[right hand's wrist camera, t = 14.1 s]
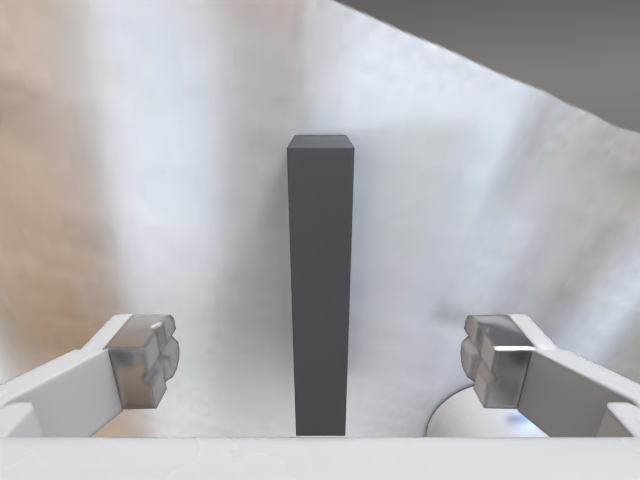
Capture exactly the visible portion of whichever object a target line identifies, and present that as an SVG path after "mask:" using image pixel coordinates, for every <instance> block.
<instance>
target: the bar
mask: <svg viewBox="0 0 640 480" xmlns="http://www.w3.org/2000/svg"><path fill="white" fill-rule="evenodd" d="M287 162H288V193H289V225H290V256H291V288H292V320H293V351H294V383H295V414H296V436H345V424H346V393H347V362H348V330H349V299H350V268H351V237H352V205H353V174H354V147H353V145H352V144H351V142H350V141H349V139H348V137H347V136H346V135H295V136H294V138H293V139H292V141H291V143H290V144H289V146H288V147H287Z"/></svg>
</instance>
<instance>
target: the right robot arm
mask: <svg viewBox="0 0 640 480" xmlns="http://www.w3.org/2000/svg"><path fill="white" fill-rule="evenodd" d="M175 329H176V326H175V322H174V318H173V317H172V316H171V315H147V314H135V315H134V314H117V315H113V316H112V317H111V318H110V319H109V320H108V321H107V322H106V323H105V324H104V325H103V327H102V328H101V329H100V330H99V331H98V332H97V333H96V334H95V335H94V336H93V337H92V338H91V339H90V340H89V341H88V342H87V343H86V344H85V345H84V347H83V348H82V349H81V350H73V351H71V352H68V353H66V354H64V355H62V356H60V357H58V358H55V359H53V360H51V361H49V362H47V363H45V364H43V365H40V366H38V367H36V368H34V369H32V370H30V371H28V372H25V373H23V374H21V375H19V376H17V377H15V378H13V379H10V380H8V381H6V382H4V383H2V384H0V480H640V384H638V383H636V382H634V381H632V380H629V379H627V378H625V377H623V376H621V375H619V374H617V373H614V372H612V371H610V370H608V369H606V368H604V367H602V366H599V365H597V364H595V363H593V362H591V361H589V360H587V359H584V358H582V357H580V356H578V355H576V354H574V353H572V352H569V351H567V350H559V349H558V348H557V346H556V345H555V344H554V343H553V342H552V341H551V340H550V339H549V338H548V337H547V336H546V335H545V334H544V333H543V332H542V331H541V330H540V329H539V327H538V326H537V325H536V324H535V323H534V322H533V321H532V320H531V319H530V318H529V317H528V316H527V315H524V314H506V315H472V316H467V319H466V321H465V326H464V329H465V331H466V333H467V334H468V336H467V337H466V338H465V339H464V340H463V341H462V345H461V363H462V366H463V370H464V372H465V374H466V376H467V377H468V378H470V379H471V380H473V381H474V386H472V387H469V388H467V389H464V390H462V391H460V392H458V393H456V394H455V395H453V396H451V397H450V398H448V399H447V400H446V401H445V402H444V403H442V404H441V405H440V406H439V407H438V409H437V410H436V411H435V412H434V414H433V415H432V417H431V419H430V421H429V424H428V427H427V433H426V437H91V436H92V435H94V434H95V433H96V432H97V431H98V430H100V429H101V428H102V427H103V426H105V425H106V424H107V423H108V422H110V421H111V420H112V419H113V418H115V417H116V416H117V415H118V414H120V413H121V412H122V411H123V410H122V409H152V408H157V406H158V404H159V403H160V401H161V399H162V397H163V395H164V393H165V391H166V389H167V388H166V381H167V380H169V379H170V378H172V377H173V376H174V374H175V372H176V370H177V366H178V362H179V344H178V341H177V340H176V339H175V338H174V337H173V336H172V334H173V333H174V331H175Z"/></svg>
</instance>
